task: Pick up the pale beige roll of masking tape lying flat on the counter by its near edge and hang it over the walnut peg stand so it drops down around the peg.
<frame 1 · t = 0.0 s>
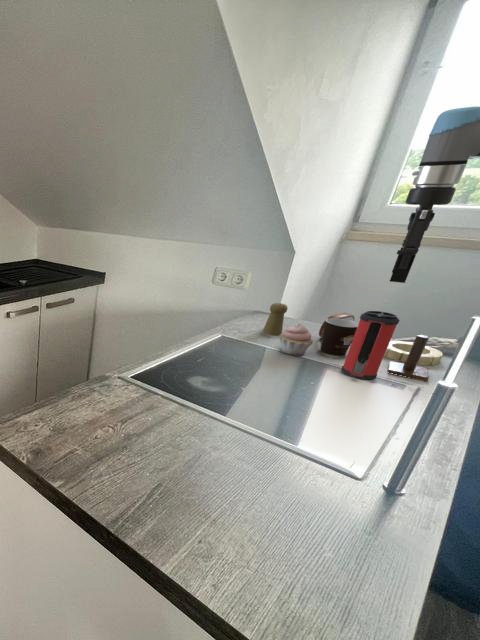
hand: (397, 277, 99), 28 cm above the counter, tool pointing down, fingers open, 13 cm apart
cupcake: (291, 352, 127), on the counter
coffee mug: (338, 353, 125), on the counter
peg stand: (406, 372, 111), on the counter
cork: (271, 333, 143), on the counter
speaker: (357, 374, 111), on the counter
tape: (407, 356, 121), on the counter
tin: (333, 337, 138), on the counter
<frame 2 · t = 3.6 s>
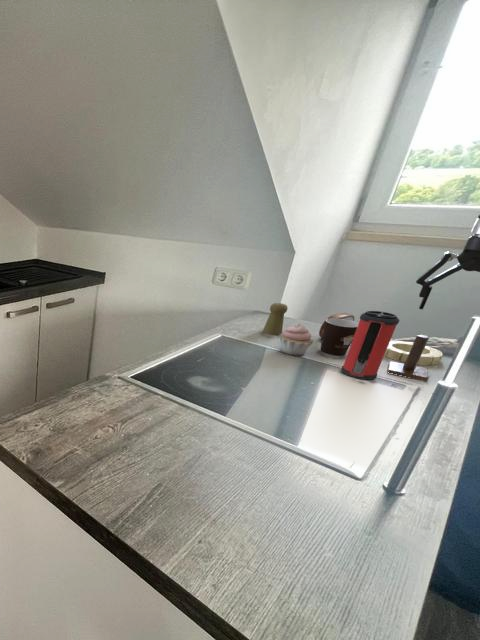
hand: (454, 312, 112), 15 cm above the counter, tool pointing down, fingers open, 13 cm apart
nothing on the counter moved.
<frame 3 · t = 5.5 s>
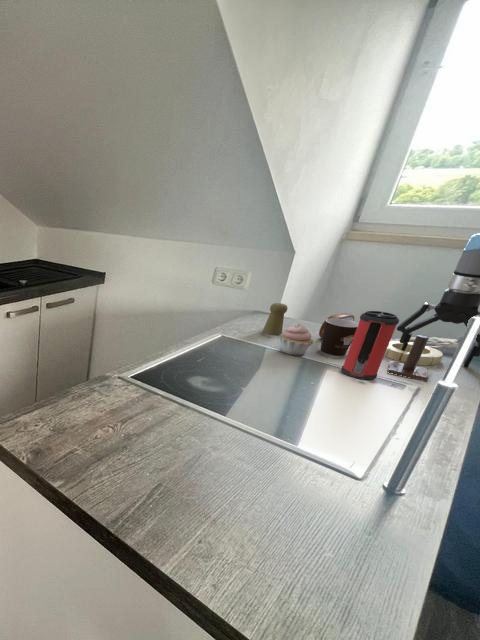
hand: (432, 359, 118), 0 cm above the counter, tool pointing down, fingers open, 13 cm apart
nothing on the counter moved.
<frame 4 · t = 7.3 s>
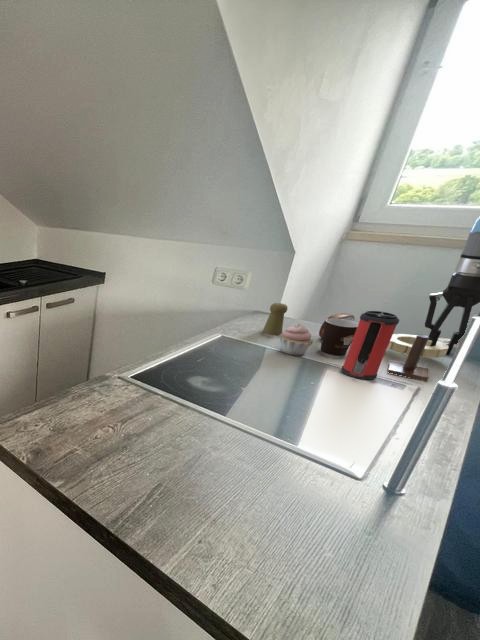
hand: (438, 352, 116), 3 cm above the counter, tool pointing down, fingers closed on tape, 3 cm apart
tape: (412, 349, 120), point 3 cm above the counter, touching gripper
everything else where it was.
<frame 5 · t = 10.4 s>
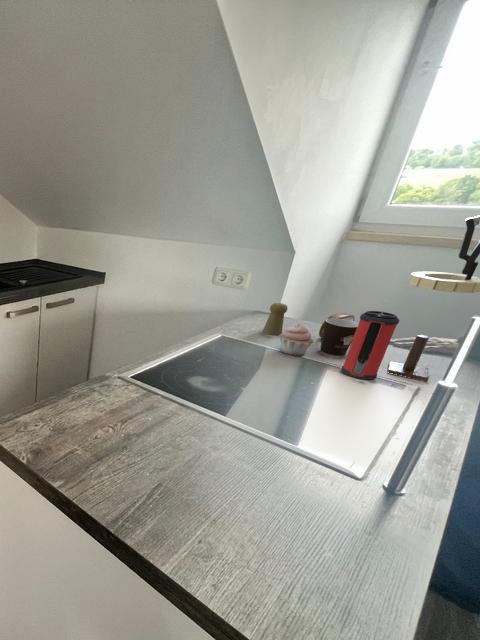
hand: (473, 288, 100), 25 cm above the counter, tool pointing down, fingers closed on tape, 3 cm apart
tape: (442, 286, 104), point 24 cm above the counter, touching gripper
everything else where it was.
when the fingers open (15 cm above the counter, at t = 13.4 s): tape drops 13 cm, resting on peg stand.
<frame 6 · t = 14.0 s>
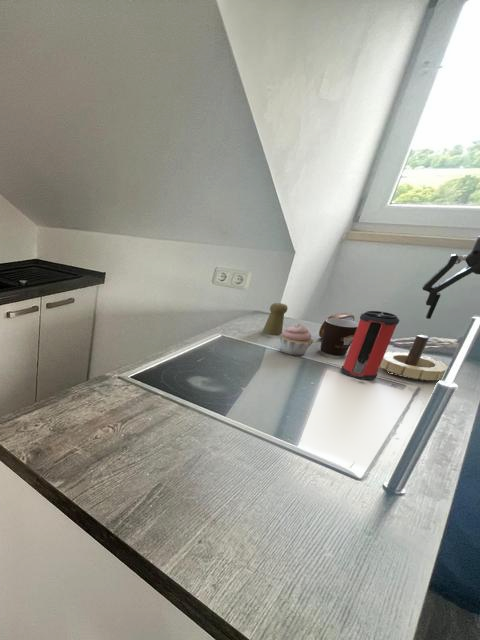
hand: (461, 322, 101), 16 cm above the counter, tool pointing down, fingers open, 12 cm apart
tape: (410, 369, 110), point 1 cm above the counter, touching peg stand
everything else where it was.
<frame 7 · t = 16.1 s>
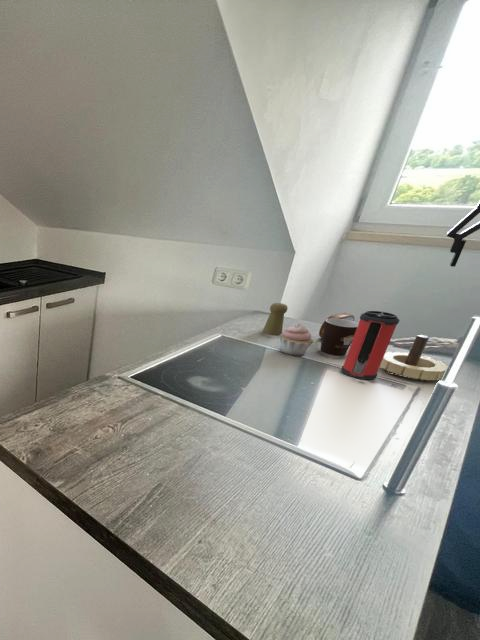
nothing on the counter moved.
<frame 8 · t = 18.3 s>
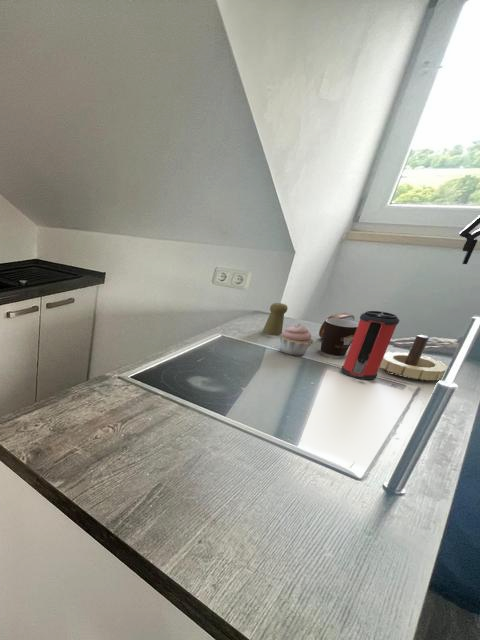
nothing on the counter moved.
at the end: tape 0.4 cm from the peg stand (horizontally); tape point 1.2 cm above the counter; the gripper is holding nothing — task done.
